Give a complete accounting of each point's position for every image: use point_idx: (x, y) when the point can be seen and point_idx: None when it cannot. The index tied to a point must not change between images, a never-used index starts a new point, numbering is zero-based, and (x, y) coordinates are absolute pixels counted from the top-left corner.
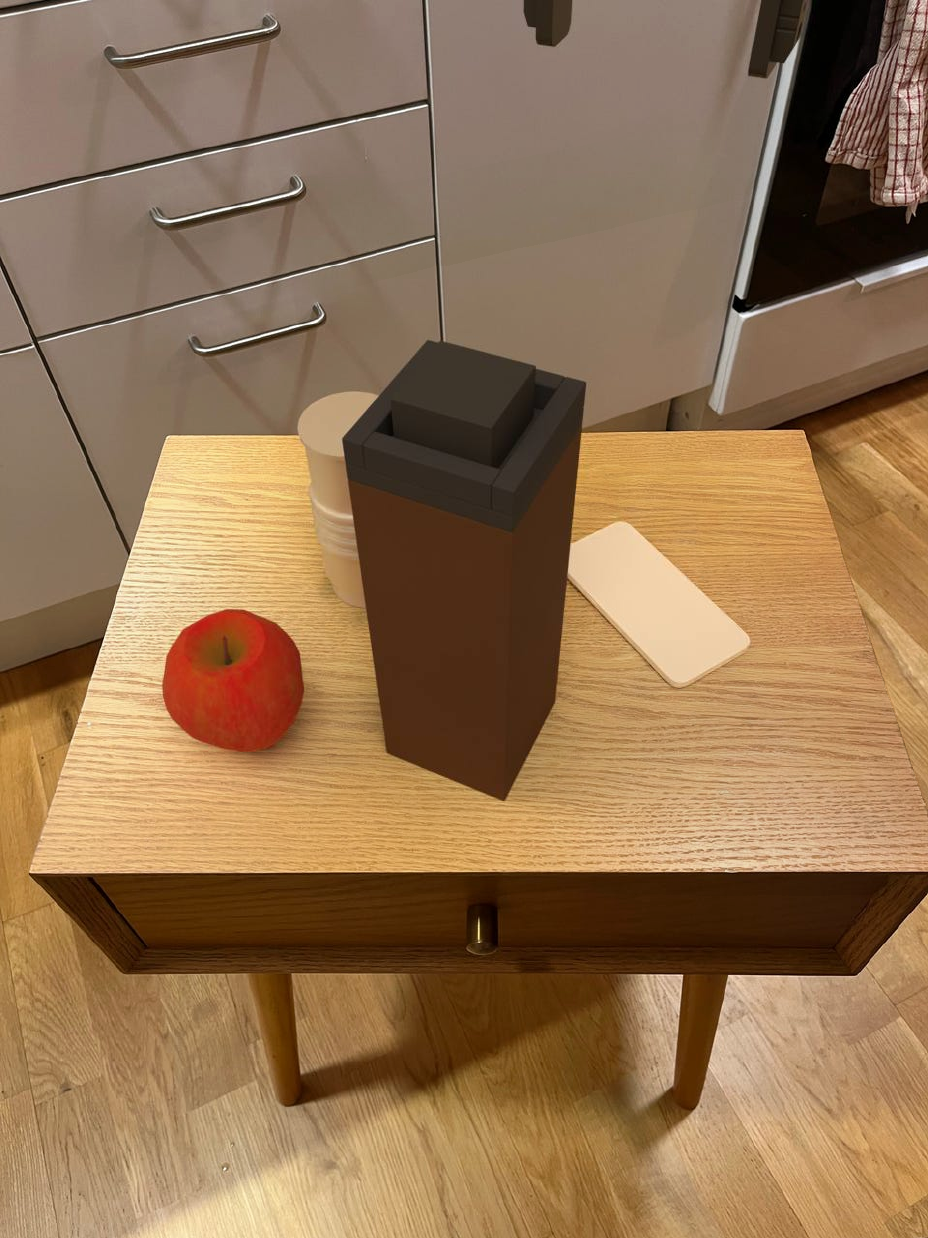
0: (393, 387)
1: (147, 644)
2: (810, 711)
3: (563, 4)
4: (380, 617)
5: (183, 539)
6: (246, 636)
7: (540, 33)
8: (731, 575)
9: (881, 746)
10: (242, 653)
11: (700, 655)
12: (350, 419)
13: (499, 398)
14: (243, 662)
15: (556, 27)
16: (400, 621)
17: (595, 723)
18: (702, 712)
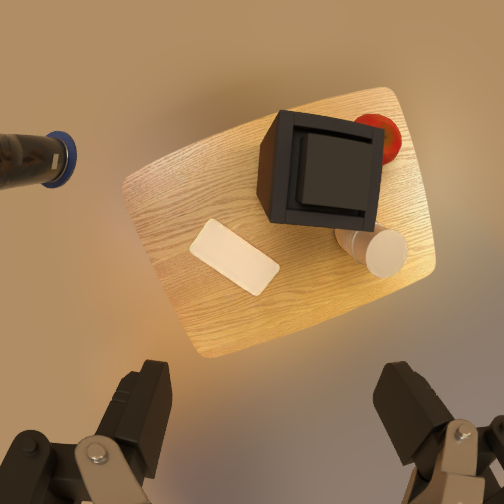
0: (377, 180)
1: (410, 172)
2: (162, 227)
3: (390, 401)
4: None
5: (419, 225)
6: None
7: (403, 364)
8: (206, 284)
9: (137, 221)
10: None
11: (206, 235)
12: (387, 256)
13: (313, 161)
14: None
15: (390, 378)
16: None
17: (237, 190)
18: (199, 211)
